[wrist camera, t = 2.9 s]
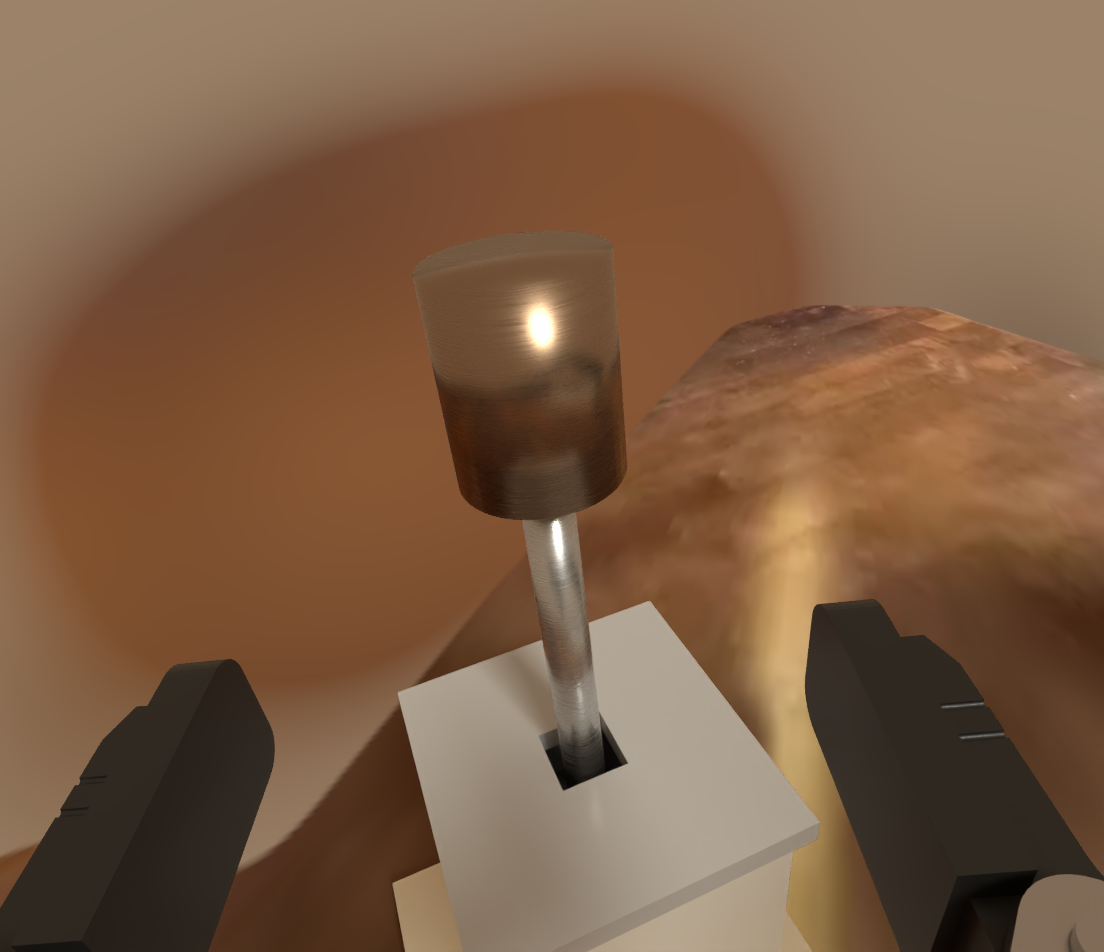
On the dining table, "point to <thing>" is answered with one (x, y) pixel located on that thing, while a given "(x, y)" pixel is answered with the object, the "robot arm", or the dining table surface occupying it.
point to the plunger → (536, 429)
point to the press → (599, 811)
